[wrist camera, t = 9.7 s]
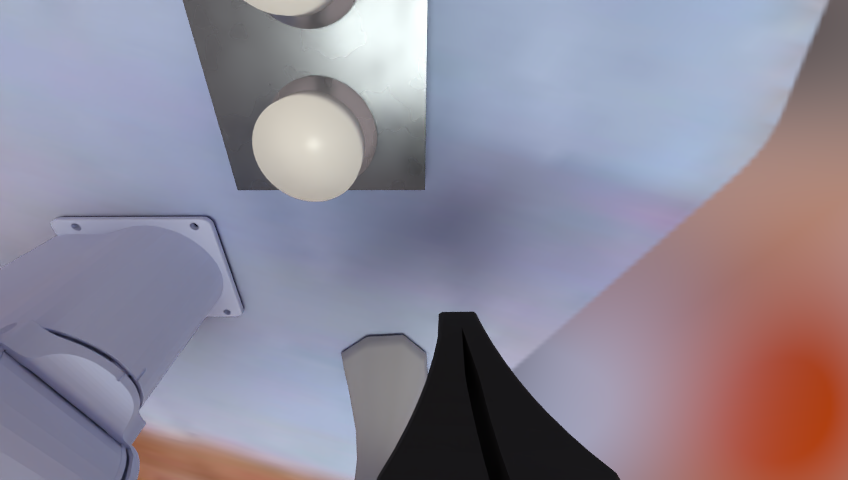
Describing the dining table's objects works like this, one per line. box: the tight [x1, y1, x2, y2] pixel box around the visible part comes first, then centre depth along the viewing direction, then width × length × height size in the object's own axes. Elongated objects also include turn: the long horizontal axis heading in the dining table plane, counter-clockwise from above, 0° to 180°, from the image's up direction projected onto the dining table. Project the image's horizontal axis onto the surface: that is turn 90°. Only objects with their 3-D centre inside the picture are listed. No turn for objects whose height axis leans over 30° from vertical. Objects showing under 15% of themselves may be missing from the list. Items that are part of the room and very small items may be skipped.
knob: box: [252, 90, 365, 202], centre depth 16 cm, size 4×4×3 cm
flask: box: [341, 335, 428, 480], centre depth 25 cm, size 7×7×10 cm
